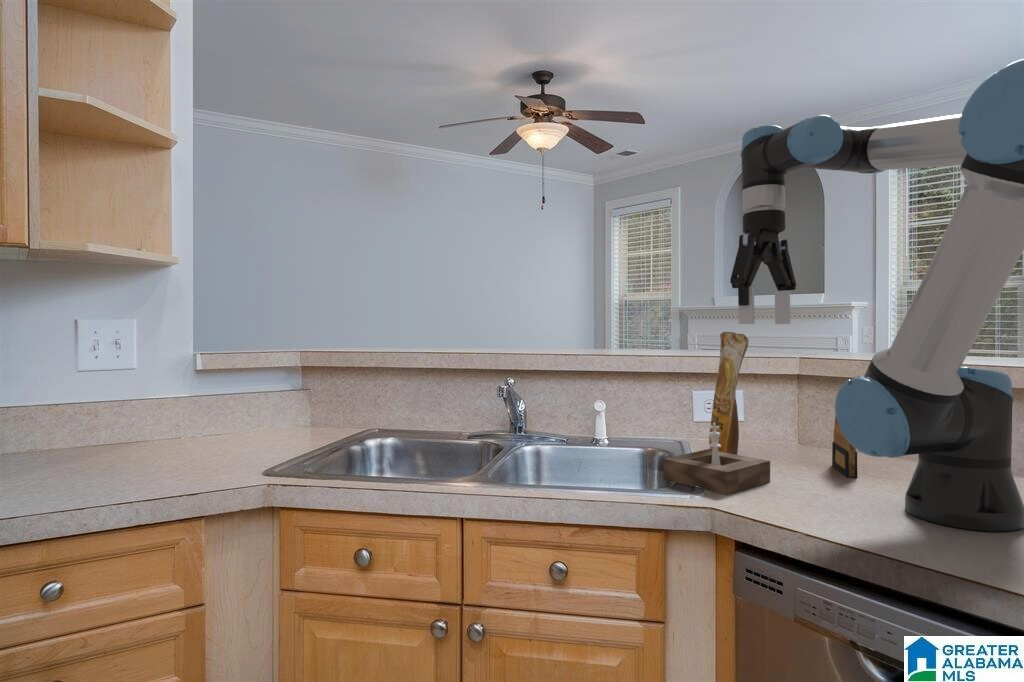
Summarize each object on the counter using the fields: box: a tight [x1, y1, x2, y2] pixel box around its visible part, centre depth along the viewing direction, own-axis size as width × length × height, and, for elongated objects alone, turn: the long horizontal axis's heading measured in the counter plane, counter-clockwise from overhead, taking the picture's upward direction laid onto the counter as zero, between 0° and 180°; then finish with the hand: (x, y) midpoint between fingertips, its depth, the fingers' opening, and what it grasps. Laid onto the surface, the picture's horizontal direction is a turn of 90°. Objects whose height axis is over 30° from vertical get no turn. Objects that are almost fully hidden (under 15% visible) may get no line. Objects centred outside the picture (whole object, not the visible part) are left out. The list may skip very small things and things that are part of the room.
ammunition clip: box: [831, 414, 858, 479], centre depth 126 cm, size 11×2×12 cm, turn 167°
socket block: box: [662, 449, 771, 496], centre depth 120 cm, size 14×14×4 cm
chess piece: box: [708, 423, 721, 466], centre depth 120 cm, size 5×5×10 cm
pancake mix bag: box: [708, 331, 749, 455], centre depth 144 cm, size 7×19×28 cm, turn 170°
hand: (765, 324), depth 119 cm, fingers open, 13 cm apart
